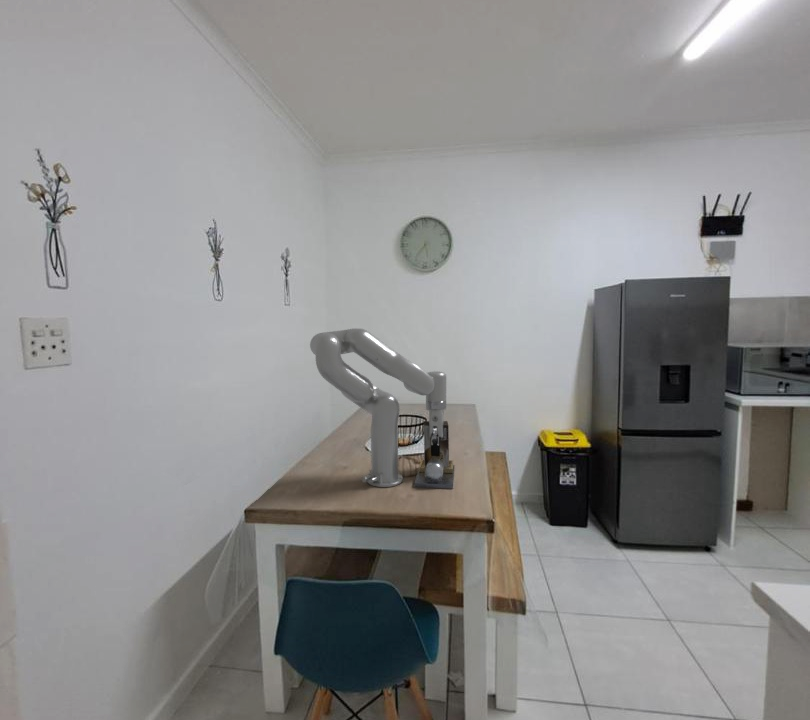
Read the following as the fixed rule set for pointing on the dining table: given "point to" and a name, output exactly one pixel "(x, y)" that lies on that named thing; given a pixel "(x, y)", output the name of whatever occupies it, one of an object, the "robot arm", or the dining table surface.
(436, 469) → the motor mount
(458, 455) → the dining table surface
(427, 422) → the coffee box
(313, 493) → the dining table surface
